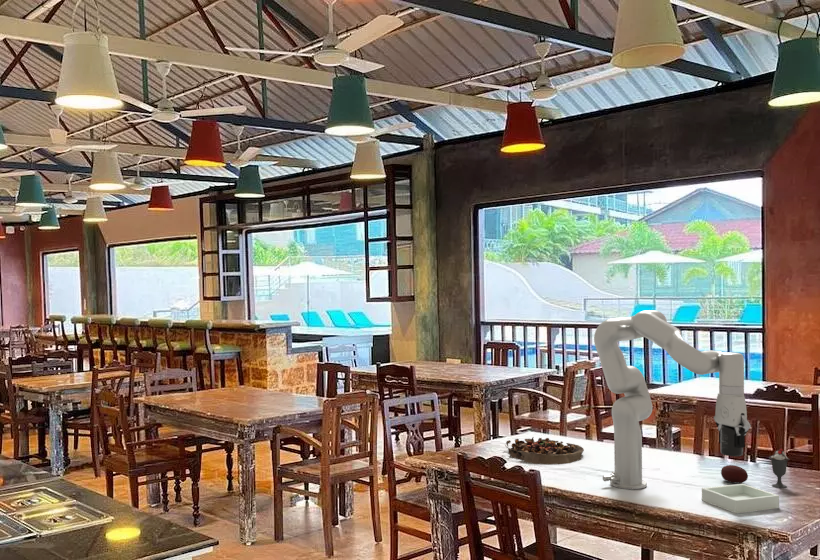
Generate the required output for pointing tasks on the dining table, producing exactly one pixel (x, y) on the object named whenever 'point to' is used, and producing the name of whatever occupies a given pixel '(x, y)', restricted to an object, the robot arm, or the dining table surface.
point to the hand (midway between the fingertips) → (731, 444)
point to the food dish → (544, 451)
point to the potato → (734, 474)
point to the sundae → (779, 466)
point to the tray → (740, 498)
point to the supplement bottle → (729, 442)
